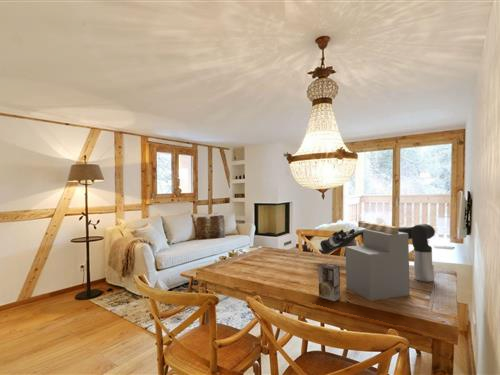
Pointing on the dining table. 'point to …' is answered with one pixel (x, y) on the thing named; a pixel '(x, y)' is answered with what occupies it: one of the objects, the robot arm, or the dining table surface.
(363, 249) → the stepped plinth
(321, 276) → the coffee box
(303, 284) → the dining table surface
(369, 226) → the birch bar
